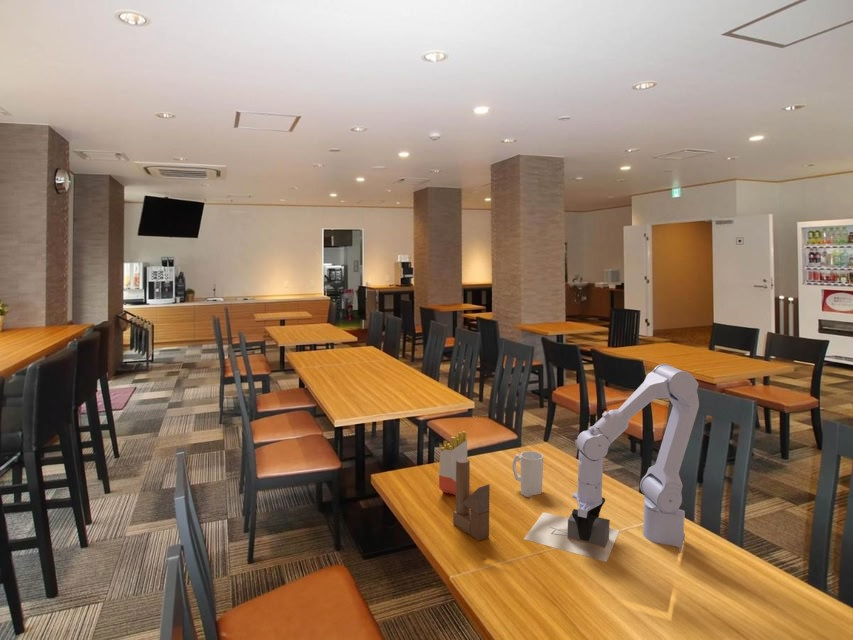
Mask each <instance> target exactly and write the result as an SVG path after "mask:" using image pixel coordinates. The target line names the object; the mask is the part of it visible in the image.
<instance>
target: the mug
mask: <svg viewBox="0 0 853 640" xmlns="http://www.w3.org/2000/svg"><path fill="white" fill-rule="evenodd" d="M518 461H520V463H519V464H520V467H519V469H520V474H519V473H518V470H517V463H518ZM543 470H544V455H543V454H542V453H541V452H538V451H535V450H534V451H532V450H528V451H522V452H520V454H518V453H516V454H514V458H513V460H512V471H513V475H514V479H515V481H519V482H520V494H521V495H522V496H523V495H524V496H523V497H526V498H532V497H533V496H536V495H541V493H542V492H543V479H544V478H543V475H544V474H543V473H544V471H543Z"/></svg>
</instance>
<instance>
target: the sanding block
mask: <svg viewBox="0 0 853 640" xmlns="http://www.w3.org/2000/svg"><path fill="white" fill-rule="evenodd" d="M568 518H569V519H568V537H567V539H570V540H574V541H578V542H582V543H585V544H589V545H593V546H597V547H601V548H605V547H606V545H607V542H608V540H609V528H610V524H611V523H610V521H611V520H610V519H607V518H603V517H597V518H596V520H595V521H594V523H593V526H592V530H591V536H590V539H589V541H585V540H581V539H580V537H579V533H578V528H577V524H576V522H575V520H574V518H573V516H572V513H571V514H570V516H569V517H568Z"/></svg>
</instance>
